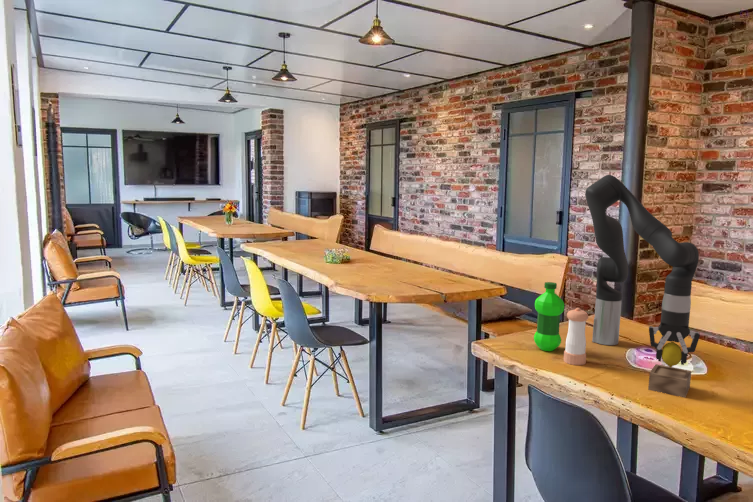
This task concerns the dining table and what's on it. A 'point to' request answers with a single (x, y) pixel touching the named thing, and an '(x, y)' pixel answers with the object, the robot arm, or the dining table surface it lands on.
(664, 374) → the walnut box
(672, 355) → the lemon
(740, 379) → the dining table surface
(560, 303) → the plastic bottle
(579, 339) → the salt shaker
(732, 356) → the dining table surface
